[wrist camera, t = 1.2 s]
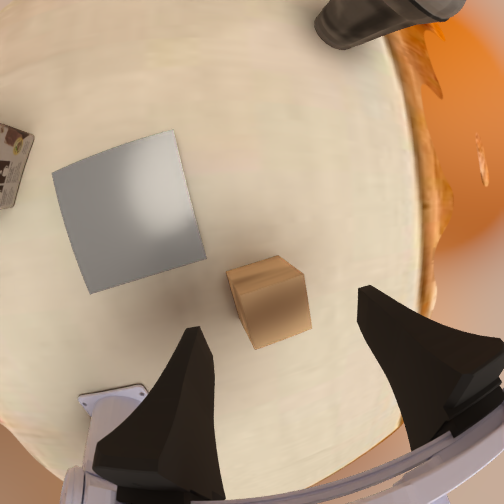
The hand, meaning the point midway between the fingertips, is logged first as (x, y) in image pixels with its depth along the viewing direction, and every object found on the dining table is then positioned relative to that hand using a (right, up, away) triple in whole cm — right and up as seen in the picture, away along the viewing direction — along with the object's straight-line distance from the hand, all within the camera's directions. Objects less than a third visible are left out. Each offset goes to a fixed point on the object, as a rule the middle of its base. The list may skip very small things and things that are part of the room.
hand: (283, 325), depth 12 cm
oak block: (-1, 0, +11) cm, 12 cm away
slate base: (-10, +6, +7) cm, 14 cm away
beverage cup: (+6, +24, +7) cm, 26 cm away
